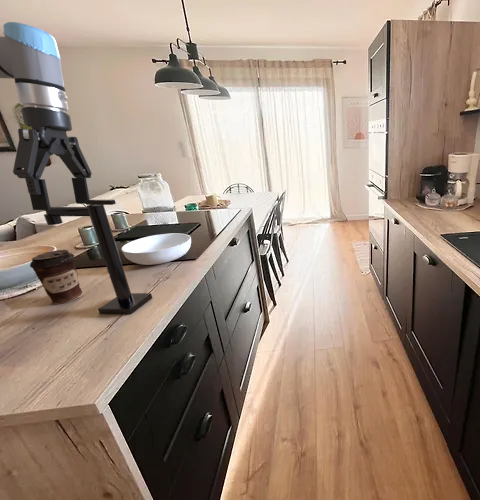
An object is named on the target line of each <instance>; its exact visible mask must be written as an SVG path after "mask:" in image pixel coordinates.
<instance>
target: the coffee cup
mask: <svg viewBox="0 0 480 500" xmlns="http://www.w3.org/2000/svg"><path fill="white" fill-rule="evenodd" d="M29 267H30V268H32V269H33V271H34V272H35V275H36V277H37V279H38V280H39V282H40V283H41V285H42V287H43V289H44V292H45V293H46V295H47V296H48V297H49V298H50V300H51V303H52V304H54V305H57V304H59V305H60V304H65V303H68V302H71V301H74V300H77V299H79V298H81V297H82V296H83V295H84V292H83V290H82V288H81V287H80V285H81V284H80V282H79V274H78V271H77V267H76V265H75V254H73V253H72V252H70V251H69V250H68V249H58V250H57V249H56V250H51V251H47V252H44V253H41V254H38V255H36V256H33V257H31V262H30V264H29Z"/></svg>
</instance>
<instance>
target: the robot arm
mask: <svg viewBox="0 0 480 500" xmlns="http://www.w3.org/2000/svg"><path fill="white" fill-rule="evenodd" d="M2 34H3V35H4V36H0V79H12V80H13V79H14V84H15V88H16V94H17V98H18V103H19V104H20V105H21V106H22V107H21V108H20V111H21V116H22V121H23V124H24V125H25V126H26V127H28V128H18V129H17V133H18V144H17V148H16V154H15V160H14V164H13V169H12V173H13V175H14V176H16V177H17V178H18V179H25V184H26V187H27V193H28V194H29V198H30V203H31V207H32V211H46V210H51V207H52V206H51V203H50V197H49V192H48V188H47V184H46V179H45V178H42V176H43V174H44V171H45V169H46V167H47V165H48V162H49V160H50V158H51V156H54V155H55V156H56V157H59V159H60V160H61V161H62V162H63V164H64V165H65V166H66V168H67V169H68V170H69V172H70V173H71V174H72V176H73V177H71V183H72V188H73V194H74V200H75V203H76V204H77V205H86V203H85V200H91V199H90V194H89V188H88V187H89V186H88V183H87V182H88V181H87V179H91V178H92V175H93V173H92V170H91V168H90V167H89V164H88V161H87V160H86V157H85V155H84V154H83V151H82V149H81V147H80V144H79V140H78V137H77V136H70V135H69V136H68V134H67V132H71V131H72V130H73V125H72V120H71V115H70V114H69V113H67V112H68V111H69V104H68V99H69V97H68V96H67V93H66V87H65V81H64V75H63V68H62V67H63V66H62V61H61V60H62V57H61V55H60V52H59V48H58V44H57V41H56V39H55V37H54V36H53V35H52V34H50V33H49V32H47V31H46V30H43V29H41V28H38V27H36V26H33V25H29V24H26V23H22V22H16V21H7V22H6V23H4V24H3V32H2Z"/></svg>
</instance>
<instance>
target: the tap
mask: <svg viewBox="0 0 480 500" xmlns="http://www.w3.org/2000/svg"><path fill="white" fill-rule="evenodd" d="M85 203H86V204H85V205H86V206H50V207H51V210H45V213H44V214H43V217H44V220H45V222H46V224H47V226H56V225H61V224H63V219H62V217H89V219H90V221H91V225H92V228H93V231H94V234H95V236H96V239H97V242H98V245H99V248H100V252H101V255H102V257H103V261H104V264H105V266H106V269H107V272H108V276H109V279H110V282H111V285H112V288H113V291H114V293H115V296H116V297H114V298H112V299H111V300H109V301H108V302H106V303H104V304H103V305H101V306H100V307H98V308H97V311H98V314H99V315H132V314H134V313H135V312H137V310H139V309H140V308H142V307H143V306H144V305H145V304H147V303H148V302H149V301H151V300H152V299H153V295H152V293H151V292H149V293H147V292H144V293H143V292H131V289H130V286H129V281H128V279H127V276H126V272H125V270H124V269H125V268H124V265H123V262H122V259H121V257H120V253H119V250H118V246H117V243H116V240H115V237H114V234H113V231H112V227H111V224H110V221H109V218H108V214H107V211H106V208H105V206H113V205H116V204H117V203H116V200H115V199H90V200H85Z"/></svg>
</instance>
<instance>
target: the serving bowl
mask: <svg viewBox="0 0 480 500" xmlns="http://www.w3.org/2000/svg"><path fill="white" fill-rule="evenodd" d="M191 247H192V236H191V235H189V234H188V233H187V234H186V233H180V232H177V233H175V232H173V233H170V232H169V233H161V234H154V235H148V236H145V237H140V238H138V239H134V240H132V241H129V242H127V243H125V244H124V245H123V246H122V247H121V249H120V250H121V252H122V254H123V255H124V257H125V258H126V259H127V260H129V261H130V262H132V263H134V264H136V265H137V264H138V265H143V266H145V265H146V266H151V265H161V264H162V265H163V264H166V263H169V262H172V261H175V260H177V259H180V258H181V257H183V256H184V255H186V254H187V253H188V251H189V250H190V248H191Z"/></svg>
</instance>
